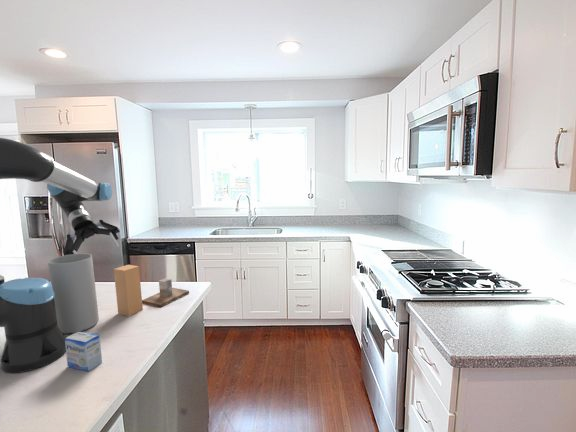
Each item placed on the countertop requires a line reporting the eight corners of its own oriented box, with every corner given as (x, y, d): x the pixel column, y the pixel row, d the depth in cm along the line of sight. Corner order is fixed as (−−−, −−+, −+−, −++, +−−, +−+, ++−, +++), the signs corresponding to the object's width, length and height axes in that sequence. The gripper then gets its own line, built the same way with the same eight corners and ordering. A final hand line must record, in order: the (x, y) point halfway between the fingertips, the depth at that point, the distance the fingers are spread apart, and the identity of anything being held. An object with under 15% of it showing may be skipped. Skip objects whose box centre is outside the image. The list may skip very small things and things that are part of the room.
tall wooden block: (142, 309, 121) (138, 266, 118) (128, 316, 115) (124, 270, 113) (132, 306, 123) (128, 264, 121) (118, 313, 118) (113, 268, 115)
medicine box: (67, 367, 84) (63, 338, 83) (82, 358, 88) (78, 330, 87) (88, 372, 82) (85, 342, 81) (102, 362, 86) (99, 334, 85)
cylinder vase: (101, 314, 116) (94, 252, 113) (96, 329, 105) (88, 260, 101) (61, 321, 111) (53, 256, 107) (52, 338, 100) (42, 266, 96)
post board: (161, 307, 122) (159, 287, 121) (142, 302, 127) (140, 284, 126) (189, 293, 137) (187, 275, 136) (171, 289, 141) (170, 273, 140)
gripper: (115, 214, 134) (135, 243, 124) (53, 242, 123) (69, 277, 112) (108, 202, 129) (128, 231, 118) (43, 231, 117) (58, 266, 107)
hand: (99, 253), depth 115 cm, fingers open, 13 cm apart
